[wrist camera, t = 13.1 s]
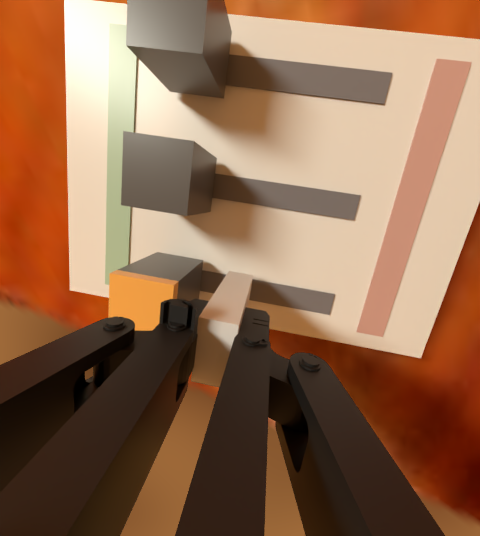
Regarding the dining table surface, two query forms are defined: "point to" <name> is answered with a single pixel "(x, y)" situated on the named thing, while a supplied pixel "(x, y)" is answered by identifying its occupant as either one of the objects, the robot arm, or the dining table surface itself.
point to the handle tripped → (152, 287)
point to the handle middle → (166, 174)
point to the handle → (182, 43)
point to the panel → (289, 170)
